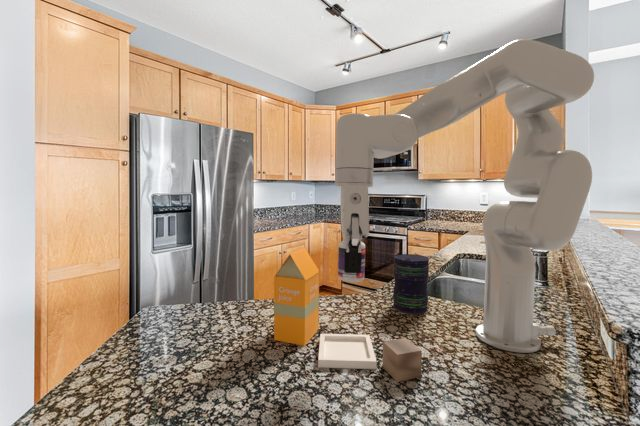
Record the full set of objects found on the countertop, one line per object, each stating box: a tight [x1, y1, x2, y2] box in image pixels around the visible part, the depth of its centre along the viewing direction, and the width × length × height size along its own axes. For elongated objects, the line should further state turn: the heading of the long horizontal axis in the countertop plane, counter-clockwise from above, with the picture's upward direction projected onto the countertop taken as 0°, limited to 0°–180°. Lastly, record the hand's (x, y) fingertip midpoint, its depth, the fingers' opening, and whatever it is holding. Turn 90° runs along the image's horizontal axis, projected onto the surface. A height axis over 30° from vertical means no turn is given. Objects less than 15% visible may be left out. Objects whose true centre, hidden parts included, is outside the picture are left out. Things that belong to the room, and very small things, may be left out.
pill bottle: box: [337, 232, 366, 283], centre depth 61 cm, size 5×5×10 cm
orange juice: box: [273, 247, 320, 347], centre depth 71 cm, size 8×9×20 cm
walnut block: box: [382, 337, 423, 383], centre depth 56 cm, size 5×5×5 cm
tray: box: [317, 333, 378, 370], centre depth 63 cm, size 11×11×2 cm
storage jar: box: [392, 253, 430, 315], centre depth 89 cm, size 10×10×15 cm
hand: (351, 267), depth 61 cm, fingers closed on pill bottle, 5 cm apart
